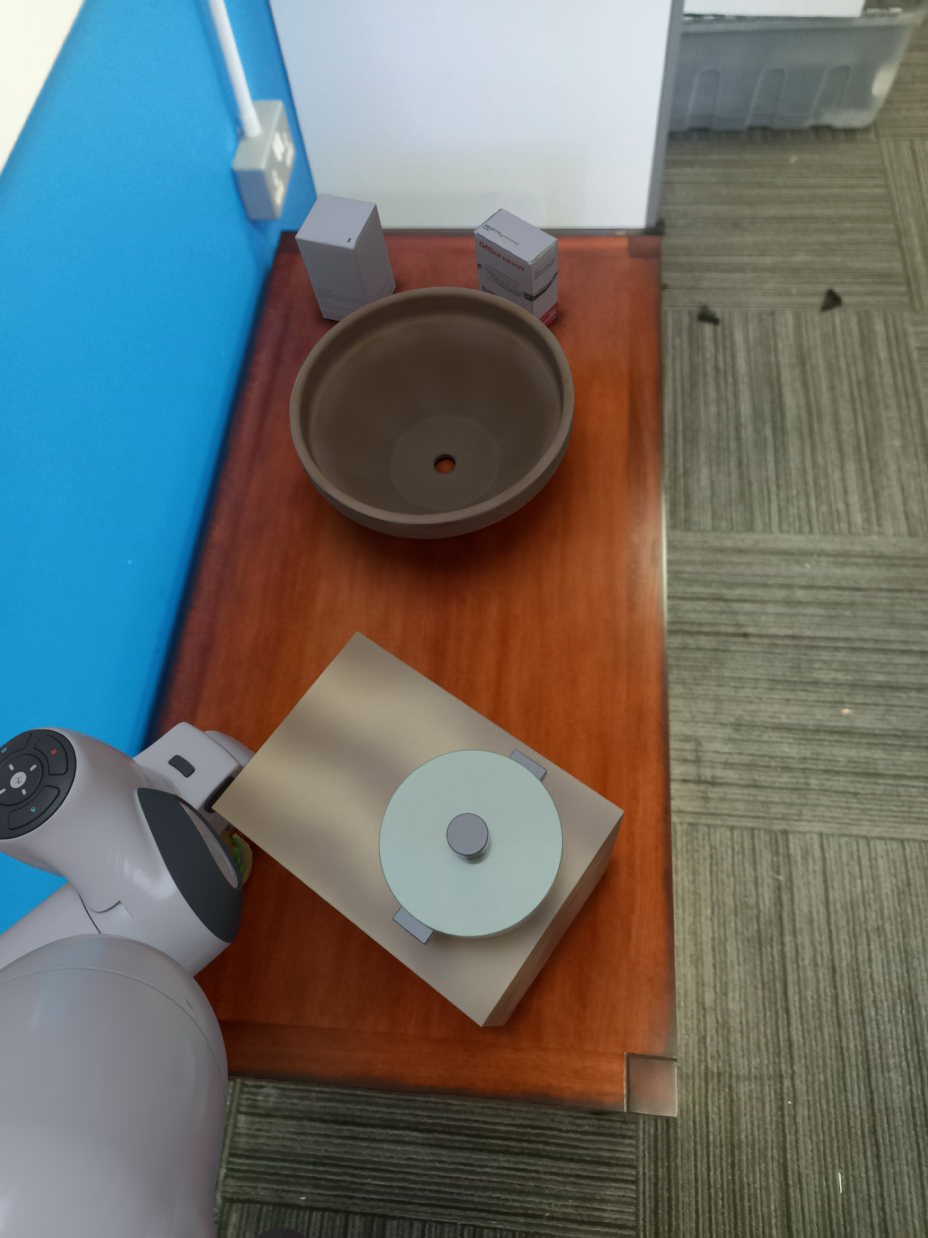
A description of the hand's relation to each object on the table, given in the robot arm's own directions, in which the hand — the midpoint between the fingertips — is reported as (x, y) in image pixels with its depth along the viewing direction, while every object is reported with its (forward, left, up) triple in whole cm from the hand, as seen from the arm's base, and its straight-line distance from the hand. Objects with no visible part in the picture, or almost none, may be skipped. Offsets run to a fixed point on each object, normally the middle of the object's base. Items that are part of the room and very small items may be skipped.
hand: (202, 862), depth 79 cm
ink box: (+70, +15, -5) cm, 72 cm away
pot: (+13, -23, +19) cm, 33 cm away
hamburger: (0, 0, -5) cm, 5 cm away
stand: (+13, -18, -5) cm, 22 cm away
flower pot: (+47, +9, -5) cm, 48 cm away
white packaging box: (+61, +33, -5) cm, 70 cm away
